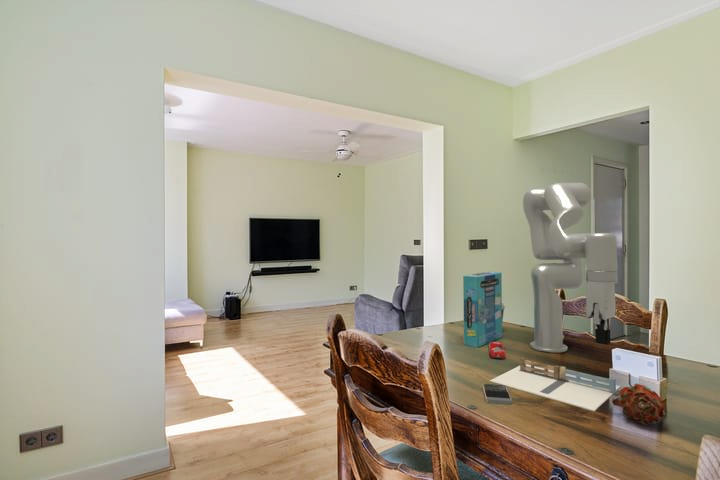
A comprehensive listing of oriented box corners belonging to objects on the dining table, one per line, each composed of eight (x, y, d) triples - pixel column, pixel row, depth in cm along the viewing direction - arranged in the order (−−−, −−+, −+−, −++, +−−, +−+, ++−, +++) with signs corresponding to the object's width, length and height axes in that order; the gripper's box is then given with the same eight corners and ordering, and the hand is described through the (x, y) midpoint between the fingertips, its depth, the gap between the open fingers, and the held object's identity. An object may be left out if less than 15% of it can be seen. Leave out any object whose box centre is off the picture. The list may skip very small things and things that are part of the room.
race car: (506, 361, 131) (506, 349, 131) (489, 360, 133) (489, 348, 133) (503, 350, 144) (503, 339, 144) (488, 349, 145) (488, 338, 145)
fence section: (520, 371, 120) (520, 358, 120) (522, 370, 121) (521, 357, 121) (558, 381, 112) (558, 367, 112) (559, 379, 113) (559, 366, 113)
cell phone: (505, 389, 107) (505, 384, 107) (512, 406, 96) (512, 401, 96) (482, 388, 108) (482, 383, 108) (486, 405, 98) (486, 399, 98)
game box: (488, 335, 165) (487, 271, 165) (502, 337, 160) (502, 272, 160) (463, 344, 150) (462, 275, 150) (478, 348, 146) (477, 276, 146)
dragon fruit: (653, 441, 81) (623, 423, 93) (687, 418, 81) (652, 402, 93) (625, 406, 83) (598, 392, 95) (657, 383, 83) (626, 372, 95)
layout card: (524, 364, 127) (524, 363, 127) (621, 386, 107) (621, 385, 107) (489, 381, 112) (489, 380, 112) (594, 411, 92) (594, 410, 92)
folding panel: (559, 379, 111) (559, 367, 111) (561, 377, 112) (561, 366, 112) (614, 392, 101) (614, 379, 101) (615, 391, 102) (615, 378, 102)
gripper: (595, 275, 116) (596, 336, 116) (577, 278, 106) (578, 345, 105) (624, 276, 110) (626, 341, 110) (608, 279, 100) (610, 351, 100)
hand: (603, 343), depth 108 cm, fingers closed
